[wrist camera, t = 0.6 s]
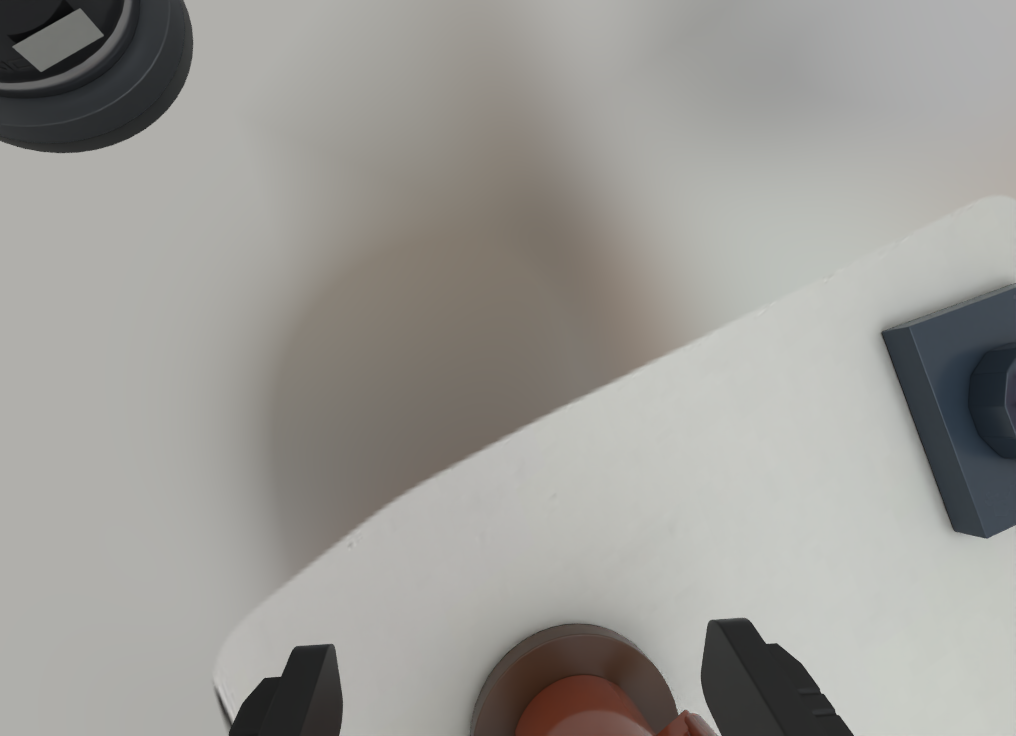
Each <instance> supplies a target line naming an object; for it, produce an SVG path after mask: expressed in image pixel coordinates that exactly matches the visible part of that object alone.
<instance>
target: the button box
mask: <svg viewBox="0 0 1016 736" xmlns="http://www.w3.org/2000/svg"><path fill="white" fill-rule="evenodd" d="M882 334H883V337H884V340H885V342H886V345H887V348H888V350H889V353H890V356H891V359H892V361H893V364H894V367H895V370H896V372H897V375H898V378H899V381H900V383H901V386H902V389H903V391H904V394H905V397H906V400H907V402H908V405H909V408H910V411H911V413H912V416H913V419H914V422H915V424H916V427H917V430H918V432H919V435H920V438H921V441H922V443H923V446H924V449H925V452H926V454H927V457H928V460H929V463H930V465H931V468H932V471H933V474H934V476H935V479H936V482H937V484H938V487H939V490H940V493H941V495H942V498H943V501H944V504H945V506H946V509H947V512H948V515H949V517H950V520H951V523H952V525H953V528H954V531H955V532H960V533H964V534H969V535H973V536H977V537H982V538H989V537H991V536H993V535H996V534H998V533H1000V532H1002V531H1004V530H1006V529H1008V528H1010V527H1013V526H1015V525H1016V283H1014V284H1011V285H1009V286H1006V287H1003V288H1000V289H997V290H995V291H992V292H989V293H986V294H984V295H981V296H978V297H975V298H973V299H970V300H967V301H964V302H962V303H959V304H956V305H953V306H951V307H948V308H945V309H942V310H940V311H937V312H934V313H931V314H929V315H926V316H923V317H920V318H918V319H915V320H912V321H909V322H907V323H904V324H901V325H898V326H896V327H893V328H890V329H887V330H885V331H882Z"/></svg>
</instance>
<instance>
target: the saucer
mask: <svg viewBox="0 0 1016 736" xmlns="http://www.w3.org/2000/svg"><path fill="white" fill-rule="evenodd" d="M575 675H593V676H597V677H601V678H604V679H607V680H609V681H611V682H613V683H615V684H617V685H618V686H619V687H621V688H622V689H623V690H624V691H625V692H626V693H627V694H628V695H629V696H630V697H631V699H632V700H633V701H634V703H635V704H636V705H637V707H638V708H639V710H640V711H641V713H642V714H643V715H644V717H645V718H646V720H647V721H648V723H649V724H650V726H651V727H652V728H653V730H654V731H655V733H656V734H658V733H659V732H660V731H661V730H662V729H664V728H665V727H666V726H667V725H668V724H669V723H670V722H672V721H673V720H674V719H675V718H676V717H677V716H678V712H677V708H676V705H675V701H674V698H673V696H672V694H671V691H670V689H669V687H668V685H667V683H666V681H665V680H664V678H663V676H662V675H661V673H660V672H659V671H658V670H657V668H656V667H655V666H654V664H653V663H652V662H651V661H650V660H649V659H648V658H647V656H646V655H645V654H644V653H643V652H642V651H641V650H640V649H639V648H638V647H637V646H636V645H634V644H633V643H632V642H630V641H629V640H628V639H626V638H625V637H623V636H621V635H619V634H618V633H616V632H613V631H611V630H608V629H606V628H603V627H598V626H594V625H586V624H569V625H561V626H557V627H552V628H549V629H546V630H543V631H541V632H538V633H536V634H534V635H533V636H531V637H529V638H527V639H525V640H524V641H523V642H521V643H520V644H518V645H517V646H515V647H514V648H513V649H512V650H511V651H510V652H509V653H508V654H506V655H505V656H504V658H503V659H502V660H501V661H500V662H499V663H498V664H497V666H496V667H495V668H494V670H493V671H492V673H491V674H490V676H489V677H488V678H487V680H486V682H485V684H484V686H483V688H482V690H481V692H480V695H479V697H478V700H477V702H476V705H475V709H474V713H473V717H472V721H471V729H470V736H514V733H515V730H516V727H517V724H518V722H519V720H520V718H521V716H522V714H523V712H524V710H525V709H526V707H527V706H528V704H529V703H530V702H531V701H532V700H533V698H534V697H535V696H536V695H537V694H538V693H540V692H541V691H542V690H543V689H544V688H546V687H547V686H549V685H550V684H552V683H554V682H556V681H558V680H561V679H563V678H566V677H570V676H575Z"/></svg>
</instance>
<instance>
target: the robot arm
mask: <svg viewBox="0 0 1016 736" xmlns="http://www.w3.org/2000/svg"><path fill="white" fill-rule="evenodd" d="M139 8H140V4H139V0H0V96H4V97H12V98H40V97H47V96H53V95H58V94H62V93H65V92H68V91H71V90H74V89H77V88H79V87H81V86H84V85H86V84H88V83H89V82H91V81H93V80H95V79H96V78H98V77H99V76H101V75H102V74H104V73H105V72H106V71H107V70H108V69H109V68H111V67H112V66H113V65H114V64H115V63H116V62H117V61H118V59H119V58H120V57H121V56H122V54H123V53H124V52H125V50H126V49H127V47H128V45H129V44H130V42H131V39H132V37H133V35H134V32H135V29H136V26H137V22H138V17H139ZM701 684H702V689H703V693H704V697H705V700H706V703H707V705H708V708H709V710H710V712H711V714H712V716H713V718H714V720H715V723H716V725H717V727H718V729H719V731H720V733H721V735H722V736H854V735H853V734H852V732H851V731H850V730H849V728H848V727H847V725H846V724H845V723H844V721H843V720H842V719H841V717H840V716H839V715H836V713H835V709H834V708H833V706H832V705H831V703H830V702H829V701H828V699H827V698H826V697H825V695H824V694H821V692H820V688H819V687H818V686H817V684H816V683H815V681H814V680H813V679H812V677H811V676H810V675H809V673H808V672H807V670H806V669H805V668H804V666H803V665H802V664H801V663H800V662H799V661H798V660H796V659H795V658H794V657H793V656H792V655H790V654H789V653H788V652H787V651H786V650H784V649H783V648H782V647H781V646H779V645H778V644H777V643H775V644H766V643H765V642H764V640H763V639H762V637H761V636H760V635H759V633H758V632H757V630H756V629H755V627H754V626H753V624H752V623H751V622H750V621H749V620H748V619H746V618H733V619H719V620H710V621H709V623H708V626H707V632H706V639H705V646H704V653H703V661H702V668H701ZM342 713H343V698H342V690H341V684H340V677H339V670H338V664H337V657H336V650H335V647H334V645H333V644H324V645H309V646H296V647H295V648H294V649H293V650H292V652H291V654H290V657H289V659H288V662H287V664H286V666H285V669H284V671H283V674H282V676H281V677H271V678H264V679H263V680H262V681H261V682H260V684H259V685H258V686H257V687H256V688H255V689H254V691H253V692H252V693H251V694H250V695H249V696H248V697H247V699H246V700H245V701H244V702H243V703H242V705H241V707H240V710H239V712H238V714H237V716H236V718H235V720H234V723H233V725H232V727H231V729H230V731H229V736H339V734H340V729H341V723H342Z"/></svg>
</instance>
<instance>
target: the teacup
mask: <svg viewBox="0 0 1016 736" xmlns="http://www.w3.org/2000/svg"><path fill="white" fill-rule="evenodd" d="M514 736H718V735H717V734H716V733H715V732H714V730H713V729H712V728H711V727H710V726H709V725H708V724H707V723H706V721H705V720H704V719H703V718H702V717H701V716H699V715H698V714H695V713H689V711H687V710H684V711H683V712H682V713H681V714H680V715H679V716H677V717H676V718H675V719H674V720H673V721H672V722H670V723H669V724H668V725H667V726H666V727H665V728H664V729H662V730H661V731H660V732H659V733H658V734H656V733H655V731H654V730H653V728H652V727H651V726H650V724H649V723H648V721H647V720H646V718H645V717H644V715H643V714H642V713H641V711H640V710H639V708H638V707H637V705H636V704H635V703H634V701H633V700H632V699H631V697H630V696H629V695H628V694H627V693H626V692H625V691H624V690H623V689H622V688H621V687H619V686H618V685H617V684H615V683H613V682H611V681H609V680H607V679H604V678H601V677H597V676H593V675H575V676H570V677H566V678H563V679H561V680H558V681H556V682H554V683H552V684H550V685H549V686H547V687H546V688H544V689H543V690H542V691H541V692H540V693H538V694H537V695H536V696H535V697H534V698H533V700H532V701H531V702H530V703H529V704H528V706H527V707H526V709H525V710H524V712H523V714H522V716H521V718H520V720H519V722H518V724H517V727H516V730H515V733H514Z"/></svg>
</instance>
